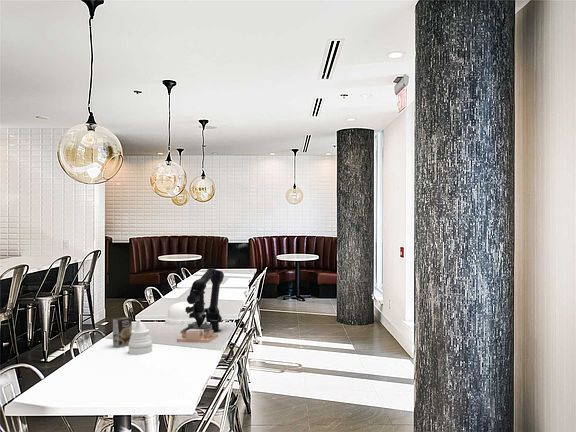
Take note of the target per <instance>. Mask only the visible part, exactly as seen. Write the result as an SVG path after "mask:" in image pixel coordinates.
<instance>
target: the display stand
mask: <svg viewBox="0 0 576 432" xmlns="http://www.w3.org/2000/svg"><path fill="white" fill-rule="evenodd" d="M179 331H180V334H181V336H180V337H178V338H176V342H178V343H179V342H181V343H209V342H211V341H213V340H215V339H216V338H218V337H219V335H218V333H217V334H216V333H214V332H213V330H210V331H209V332H204V333H203V330H196V331H194V330H187V331H185V332H183V329H182V330H179Z"/></svg>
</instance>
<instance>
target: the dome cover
mask: <svg viewBox="0 0 576 432" xmlns="http://www.w3.org/2000/svg"><path fill="white" fill-rule="evenodd" d="M194 304H195V303H194ZM188 306H189V307H192V306H193V304H189V303H188V302H187V300H186V301H179V302H175V303H174V304H172V305H171V306H170V307H168V310H167V314H166V315H167V316H166V317H165V319H164V324H166V325H168V326H176V327H177V326H179V327H184V326H186V327H187V326H188V324H192V323H193V322H196V319H195V318H189V314H190V313H192V312H190V313H188V314H187V312H185V309H186V307H188ZM205 322H207V320H206V317H205V320H204V322H203V324H204V323H205Z"/></svg>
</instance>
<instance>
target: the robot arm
mask: <svg viewBox="0 0 576 432" xmlns="http://www.w3.org/2000/svg"><path fill="white" fill-rule="evenodd" d="M224 277H225V274H224V272H223V271H222V270H218V269H216V268H207V269H206V271H205V272H204V274H202V276H201V277H200V278H198V279H196V280H194V281H193V283H192V284H191V288H190V291H189V294H188V296H187V297H186V301H187V302H188V303H189V304H193V306H192V307H189V306H188V307H186V309H185V312H187V314H188V313H190V312H192V313H190V314H189V318H195V319H196V322H197V325H198V327H200V326H201V324H204V323H203V322H204V320H205V317H206V320H207V322H208V323H209V324H212V329H211V330H213V333H218V332H220V331H221V328H219V327H220V323H221V322H223V321H222V319H223V317H222V316H221V314H220V310H219V309H220V308H219V307H218V303H219V298H220V297H219V295H220V287H221V286H220V285H221V284H222V282H223V281H224ZM209 281H210V282H211V284H212V286H211V294H210V302H209V306H208V307H205V306H206V302H205V294H206V292H205V289H206V287H207V283H208V282H209ZM194 303H195V304H194ZM209 331H210V330H209ZM209 331H208V332H209Z"/></svg>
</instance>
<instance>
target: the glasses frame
mask: <svg viewBox="0 0 576 432" xmlns="http://www.w3.org/2000/svg"><path fill="white" fill-rule="evenodd" d="M211 329H212V324H210V322H205V323H203V324H201V326H200V327H198V325H197V322H193V323H192V324H188V325H187V326H186V327H185V328H183V329H182V330H183V332H185V331H190V330H203V333H206V332H208V331H209V330H211Z"/></svg>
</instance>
